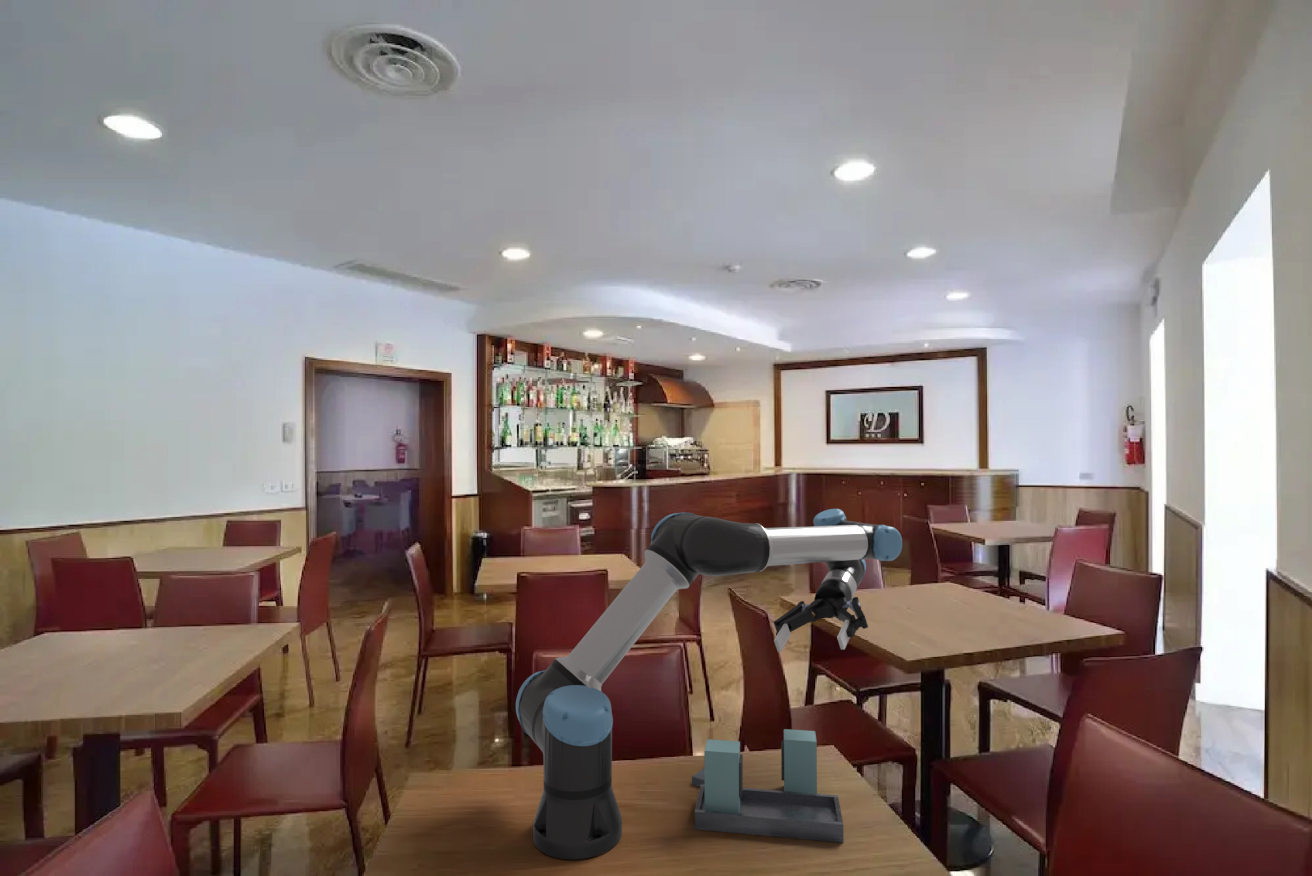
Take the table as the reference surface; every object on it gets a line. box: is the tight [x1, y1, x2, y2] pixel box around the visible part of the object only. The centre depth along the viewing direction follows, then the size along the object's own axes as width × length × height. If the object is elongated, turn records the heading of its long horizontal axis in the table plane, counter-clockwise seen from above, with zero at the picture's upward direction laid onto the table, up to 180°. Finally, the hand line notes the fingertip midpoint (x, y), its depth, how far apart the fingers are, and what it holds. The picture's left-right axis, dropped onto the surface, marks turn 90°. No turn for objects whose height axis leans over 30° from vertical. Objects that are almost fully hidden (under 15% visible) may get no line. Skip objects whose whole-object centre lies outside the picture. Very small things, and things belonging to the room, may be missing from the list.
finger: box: [780, 728, 818, 794], centre depth 131 cm, size 6×5×11 cm
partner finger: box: [703, 738, 744, 813], centre depth 123 cm, size 6×5×11 cm
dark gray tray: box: [694, 784, 844, 844], centre depth 121 cm, size 25×10×3 cm, turn 80°
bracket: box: [691, 767, 705, 788], centre depth 138 cm, size 4×10×2 cm, turn 144°
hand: (808, 644), depth 137 cm, fingers open, 13 cm apart
